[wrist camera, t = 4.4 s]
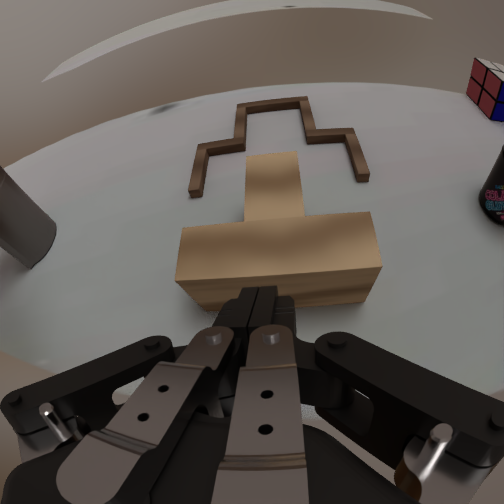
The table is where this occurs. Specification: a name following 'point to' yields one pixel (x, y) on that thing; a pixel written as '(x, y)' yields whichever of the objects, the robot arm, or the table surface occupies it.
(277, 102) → the T outline
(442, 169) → the table surface
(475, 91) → the puzzle cube
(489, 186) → the supplement container
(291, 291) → the T block
